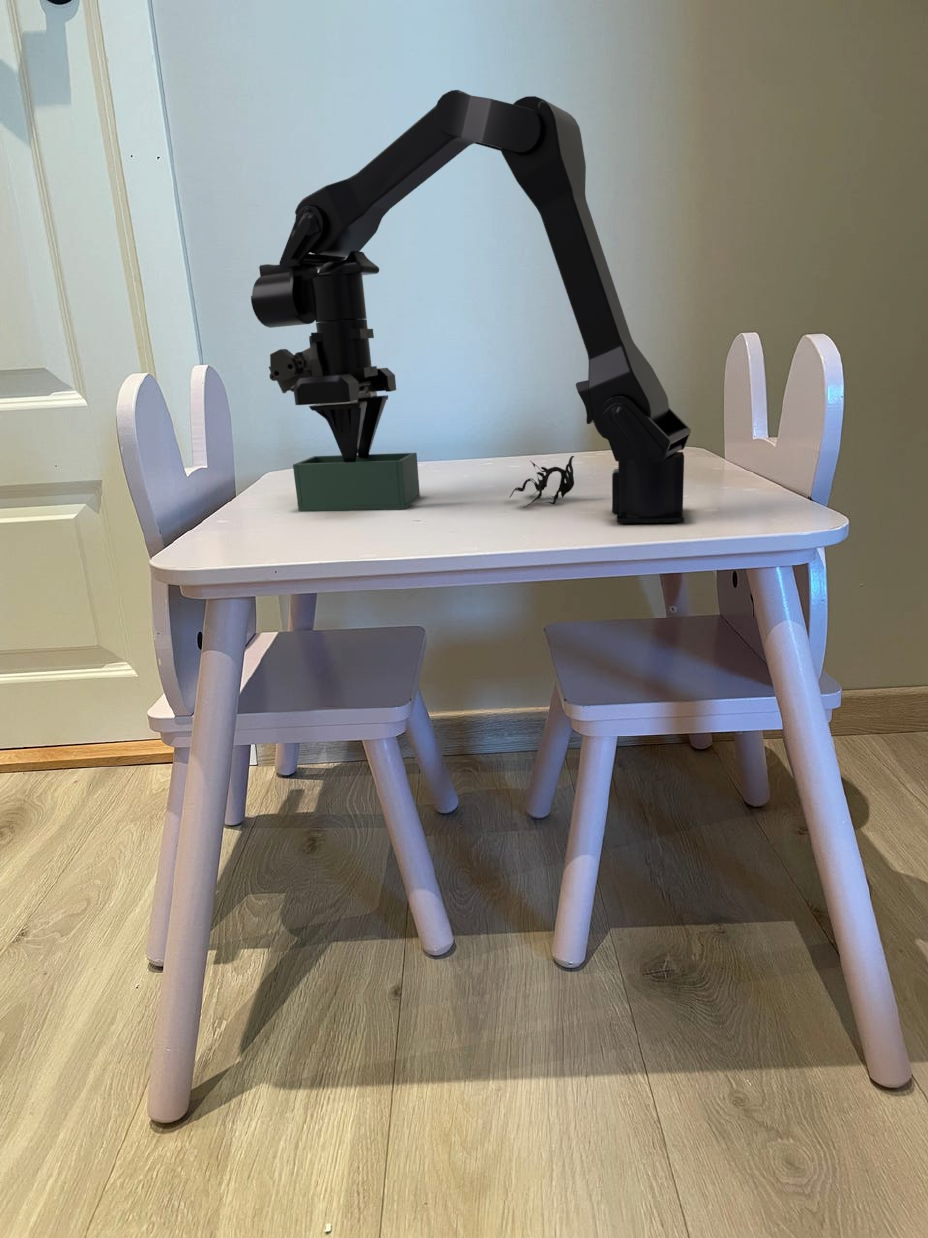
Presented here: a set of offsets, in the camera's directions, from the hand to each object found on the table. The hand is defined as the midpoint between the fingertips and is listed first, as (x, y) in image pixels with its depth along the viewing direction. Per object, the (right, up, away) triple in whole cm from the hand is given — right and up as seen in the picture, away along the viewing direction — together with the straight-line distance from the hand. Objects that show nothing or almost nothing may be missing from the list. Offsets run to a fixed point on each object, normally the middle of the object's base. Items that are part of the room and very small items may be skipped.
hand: (357, 460), depth 98 cm
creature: (+22, -6, -3) cm, 23 cm away
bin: (0, -5, +2) cm, 5 cm away
